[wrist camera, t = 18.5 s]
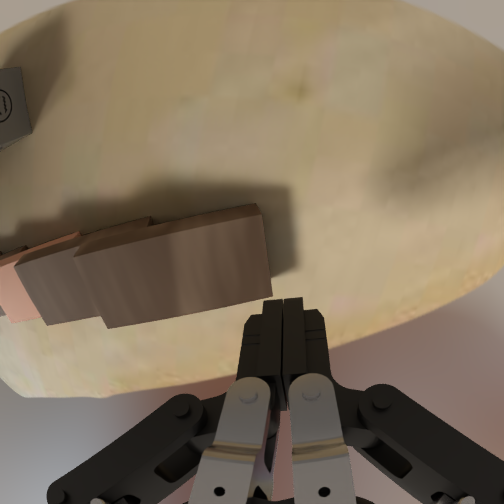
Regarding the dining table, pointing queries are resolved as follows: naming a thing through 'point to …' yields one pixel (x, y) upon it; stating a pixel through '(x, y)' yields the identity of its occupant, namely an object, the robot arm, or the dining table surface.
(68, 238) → the domino
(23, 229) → the dining table surface
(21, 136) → the dice cube
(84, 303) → the domino
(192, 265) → the domino
